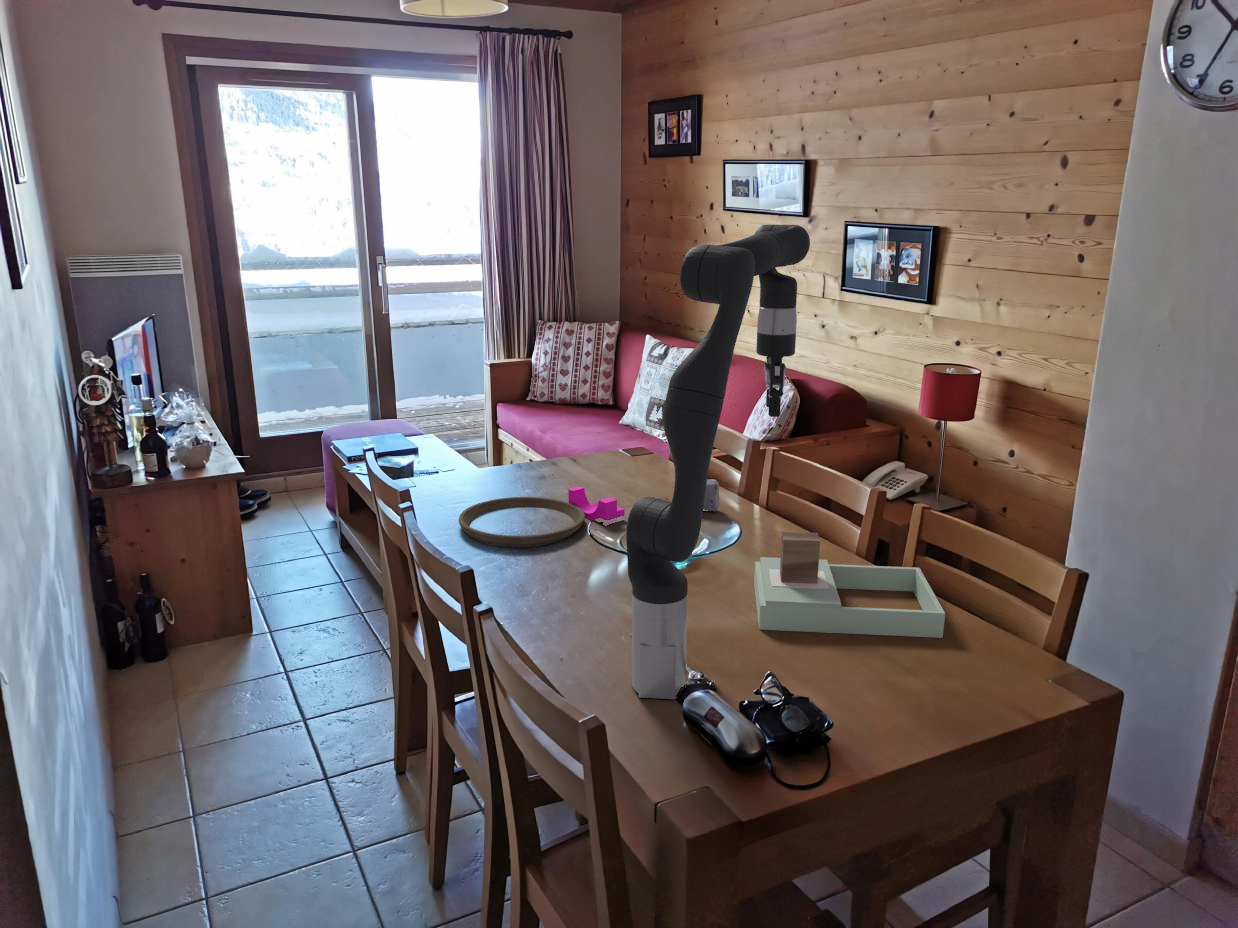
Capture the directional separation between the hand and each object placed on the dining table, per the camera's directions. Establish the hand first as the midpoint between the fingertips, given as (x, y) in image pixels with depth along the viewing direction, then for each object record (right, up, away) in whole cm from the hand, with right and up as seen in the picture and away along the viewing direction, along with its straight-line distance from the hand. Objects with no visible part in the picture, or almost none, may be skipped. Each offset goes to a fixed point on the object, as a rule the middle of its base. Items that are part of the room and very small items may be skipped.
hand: (772, 411), depth 179 cm
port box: (+14, -40, 0) cm, 42 cm away
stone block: (-10, -24, +55) cm, 61 cm away
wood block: (+5, -33, -1) cm, 34 cm away
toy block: (-37, -25, +51) cm, 68 cm away
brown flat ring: (-55, -28, +44) cm, 76 cm away
